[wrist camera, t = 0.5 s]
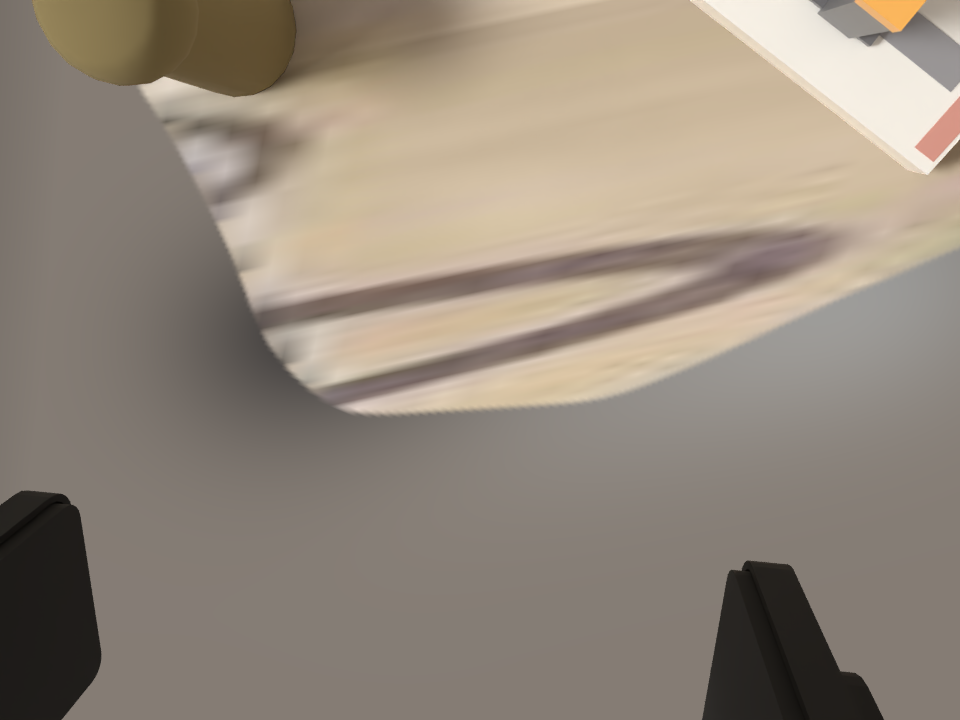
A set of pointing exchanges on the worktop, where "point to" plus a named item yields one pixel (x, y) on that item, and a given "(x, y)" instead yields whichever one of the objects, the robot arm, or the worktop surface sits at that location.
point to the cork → (174, 40)
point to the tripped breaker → (867, 16)
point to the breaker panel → (865, 71)
